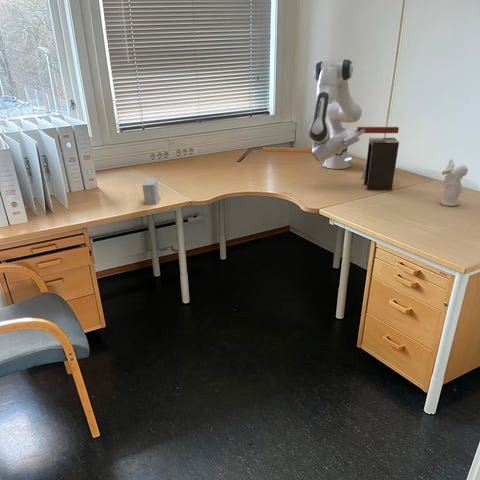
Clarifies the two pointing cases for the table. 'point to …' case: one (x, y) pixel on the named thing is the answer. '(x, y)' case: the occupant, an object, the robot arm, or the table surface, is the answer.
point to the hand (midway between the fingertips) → (364, 129)
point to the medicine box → (364, 171)
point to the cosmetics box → (151, 191)
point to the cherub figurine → (452, 183)
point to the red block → (379, 129)
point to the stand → (381, 163)
